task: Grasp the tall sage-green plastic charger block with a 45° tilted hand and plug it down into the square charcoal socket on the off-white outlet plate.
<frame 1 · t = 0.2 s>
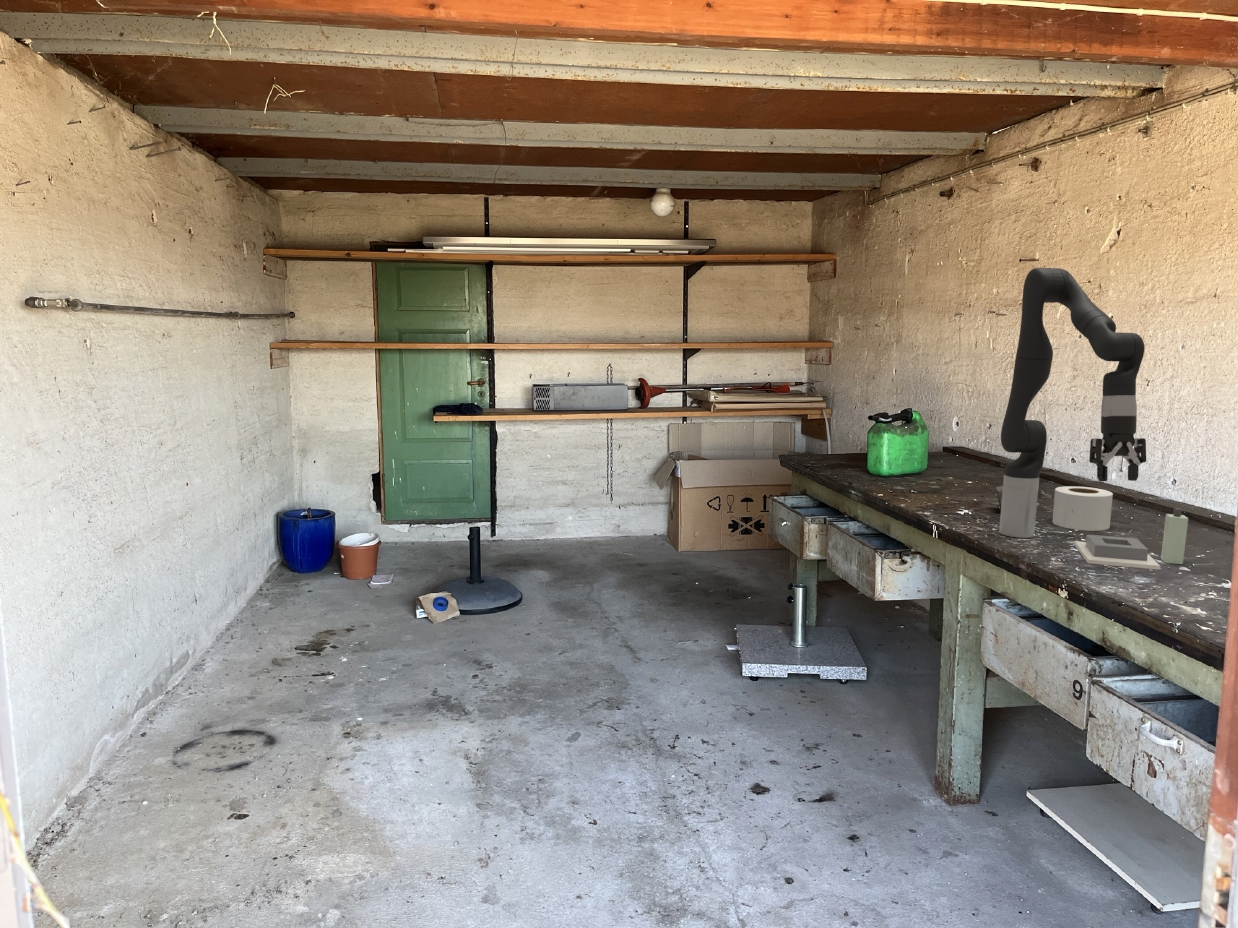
hand: (1117, 480, 211), 22 cm above the table, tool pointing down, fingers open, 8 cm apart
electrical switch: (1005, 512, 279), on the table
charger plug: (1171, 561, 222), on the table
outlet plate: (1114, 556, 226), on the table
roll of tape: (1080, 525, 262), on the table
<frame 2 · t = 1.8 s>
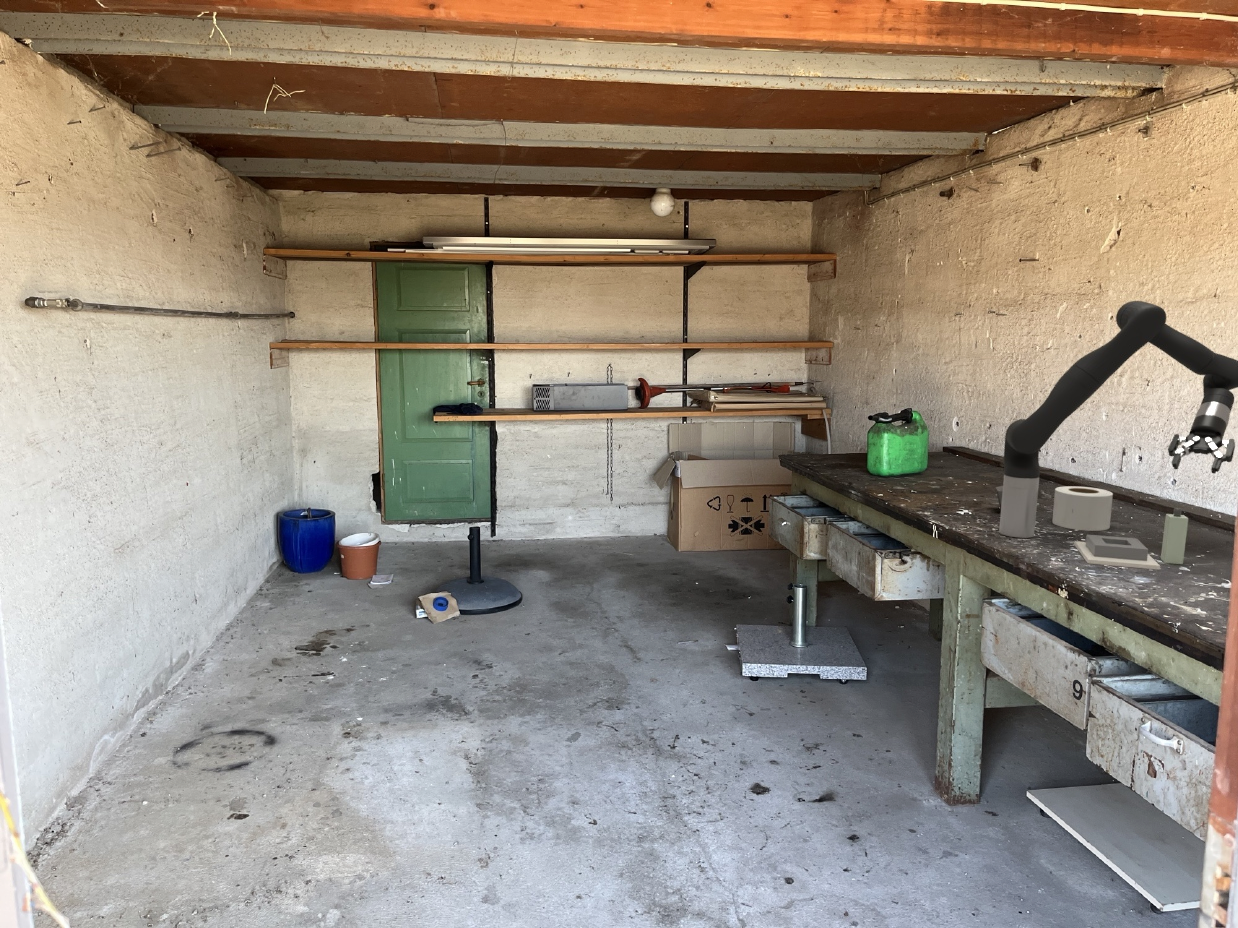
hand: (1194, 469, 226), 23 cm above the table, tool tilted 45°, fingers open, 8 cm apart
nothing on the table moved.
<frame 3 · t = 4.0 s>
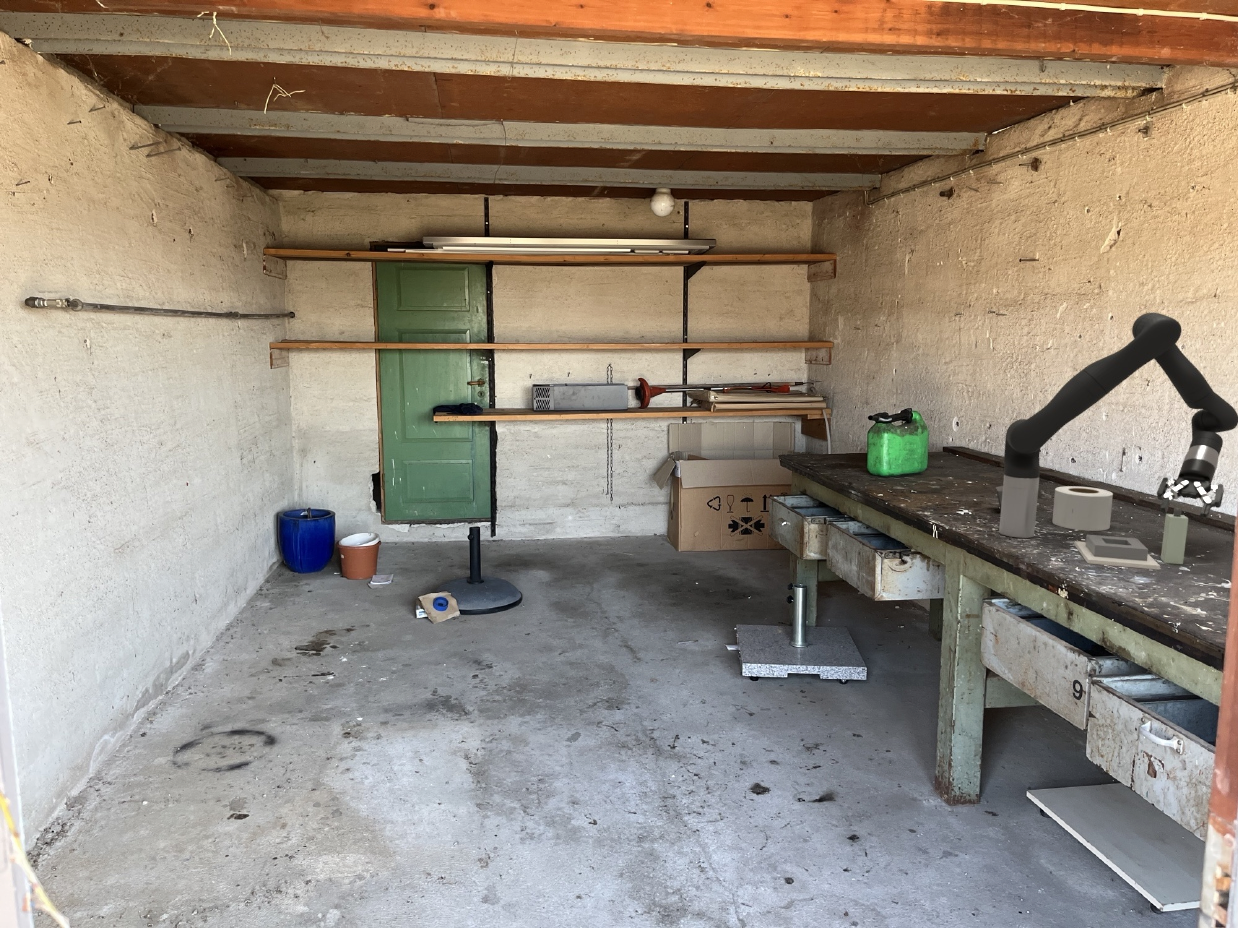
hand: (1182, 514, 224), 12 cm above the table, tool tilted 45°, fingers open, 8 cm apart
nothing on the table moved.
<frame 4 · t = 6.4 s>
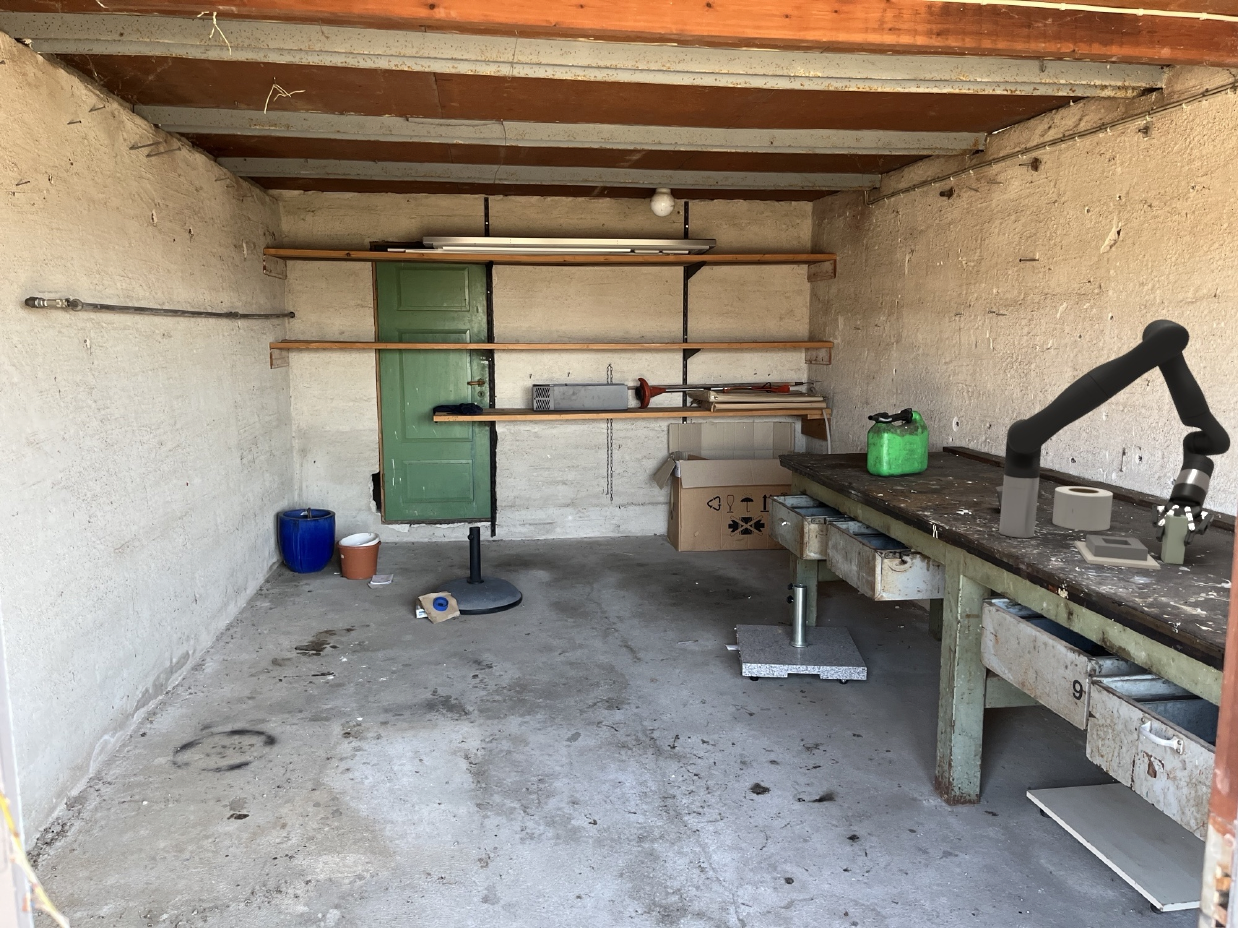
hand: (1172, 542, 220), 5 cm above the table, tool tilted 45°, fingers closed on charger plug, 5 cm apart
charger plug: (1171, 561, 222), on the table, touching gripper
everything else where it was.
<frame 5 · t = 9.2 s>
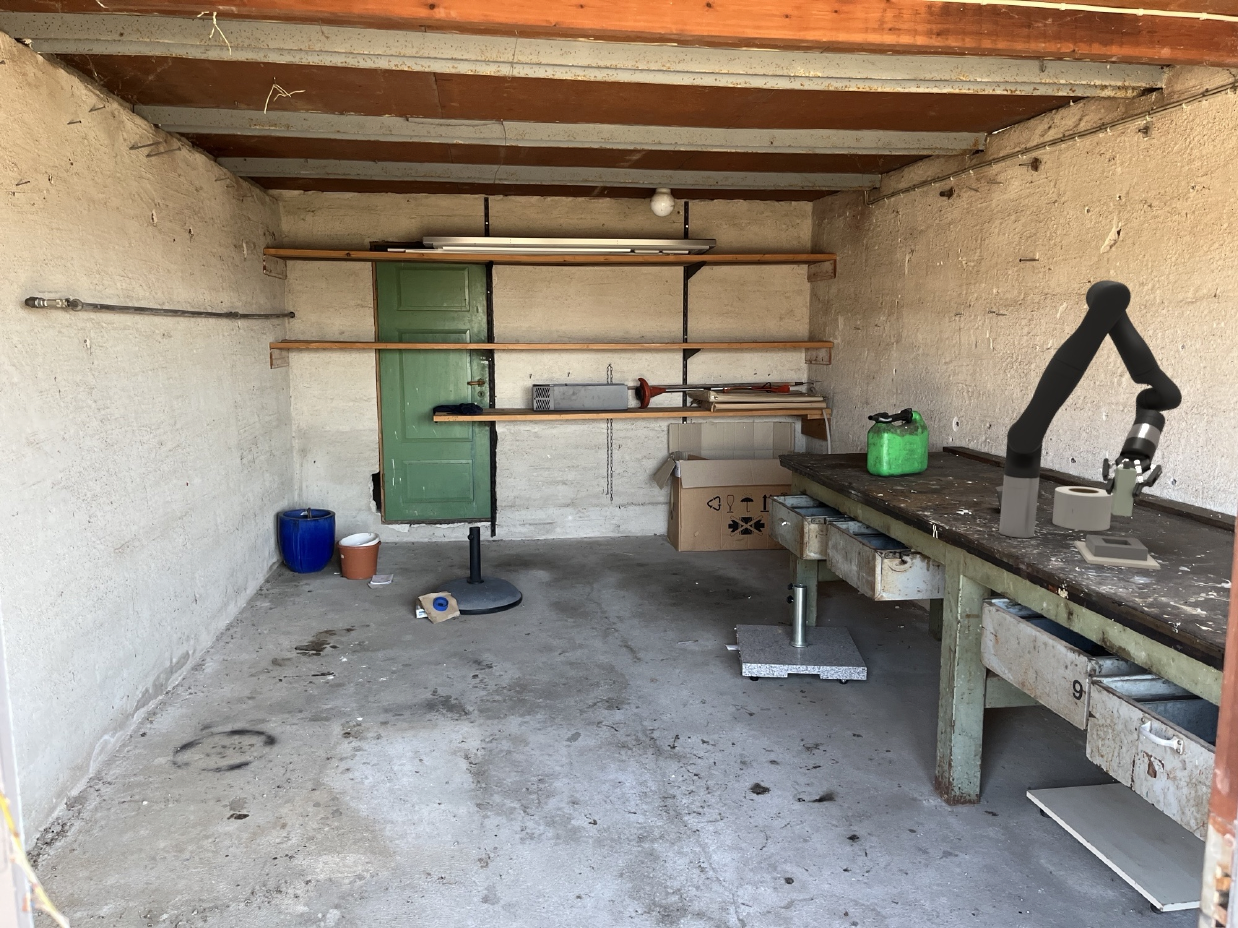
hand: (1121, 494, 222), 17 cm above the table, tool tilted 45°, fingers closed on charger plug, 5 cm apart
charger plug: (1120, 514, 224), point 11 cm above the table, touching gripper
everything else where it was.
when the fingers open (8 cm above the table, at t = 12.0 s): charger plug drops 1 cm, resting on outlet plate.
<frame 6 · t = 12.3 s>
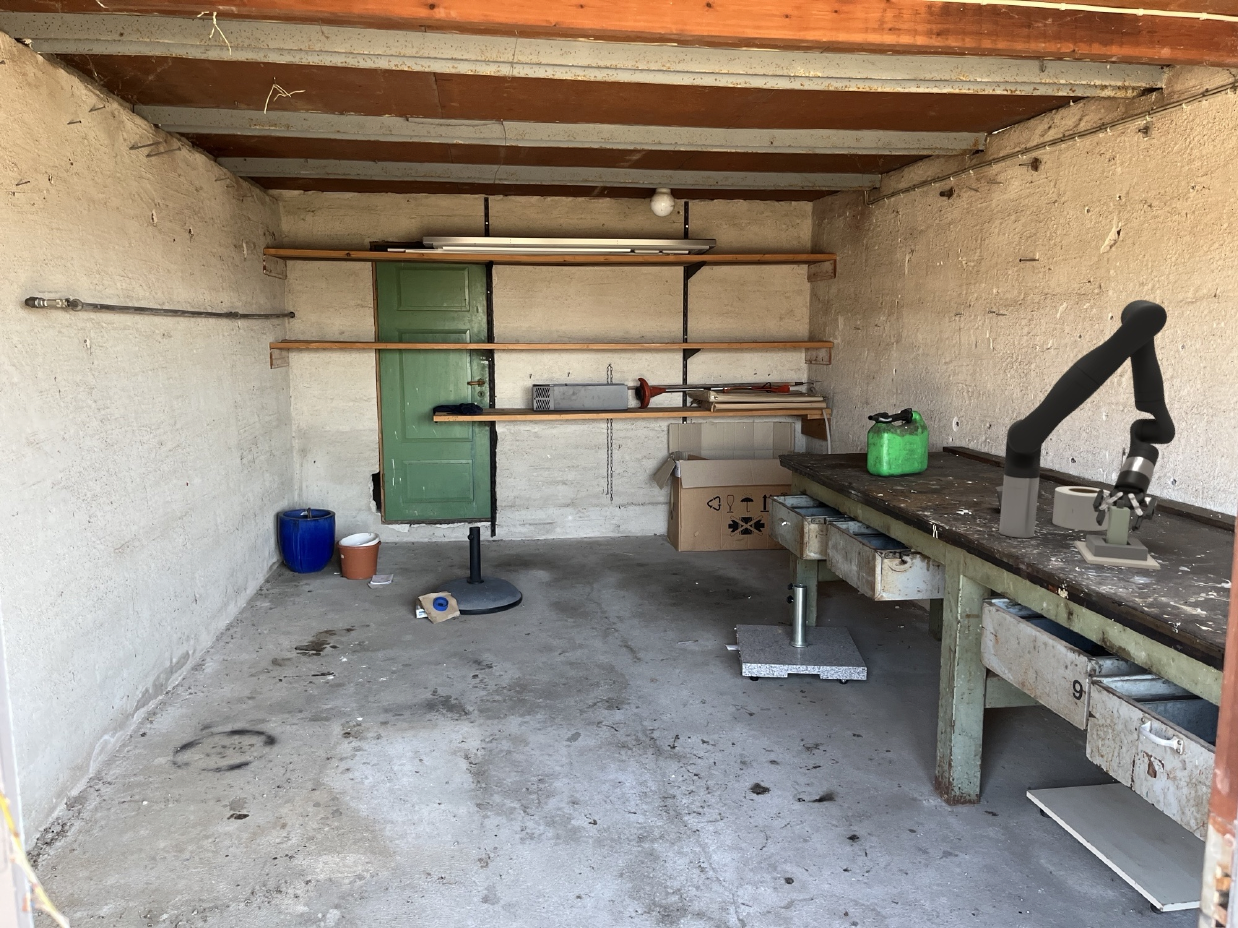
hand: (1116, 526, 224), 8 cm above the table, tool tilted 45°, fingers open, 7 cm apart
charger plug: (1115, 552, 226), point 1 cm above the table, touching outlet plate
everything else where it was.
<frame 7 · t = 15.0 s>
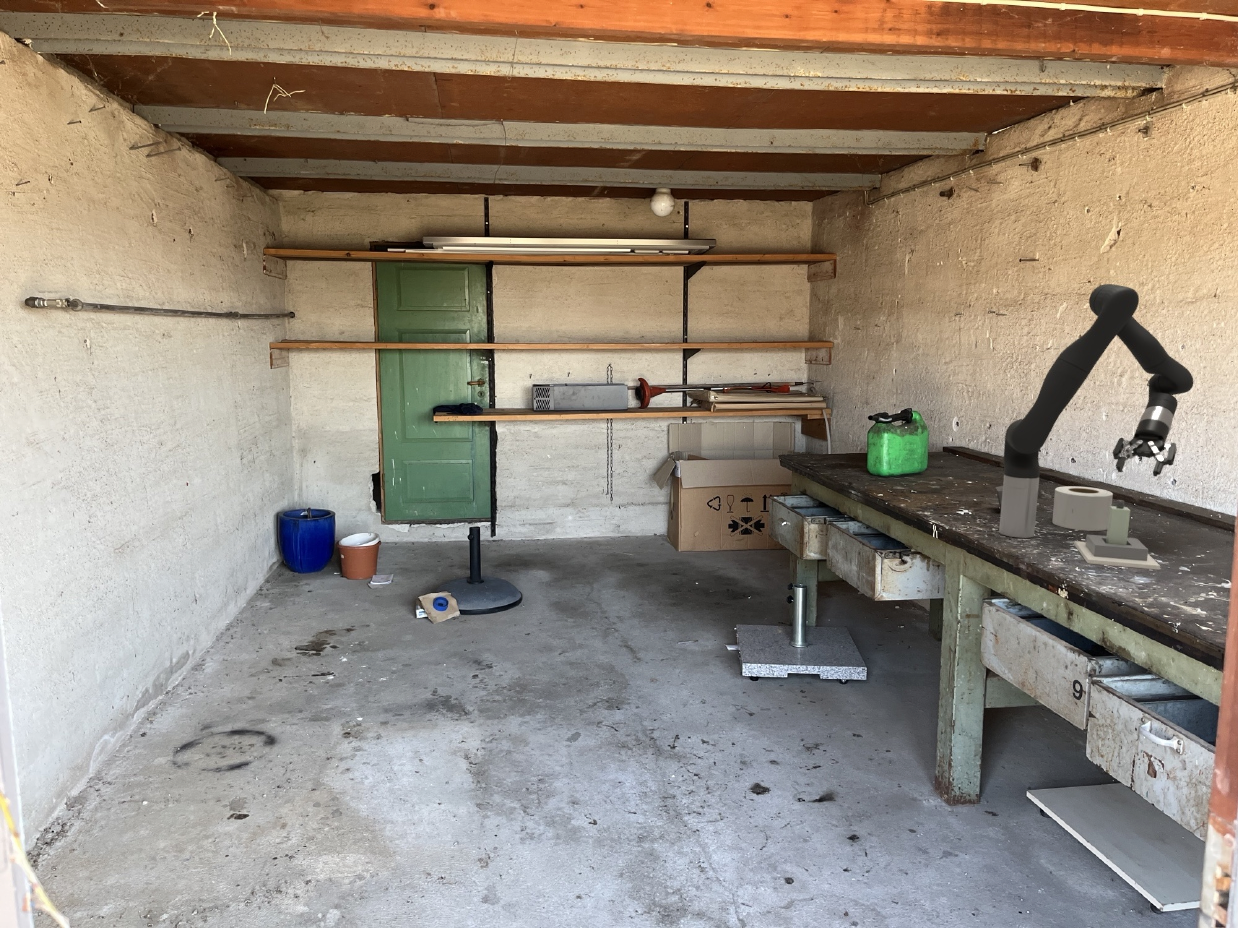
hand: (1136, 472, 231), 21 cm above the table, tool tilted 45°, fingers open, 8 cm apart
nothing on the table moved.
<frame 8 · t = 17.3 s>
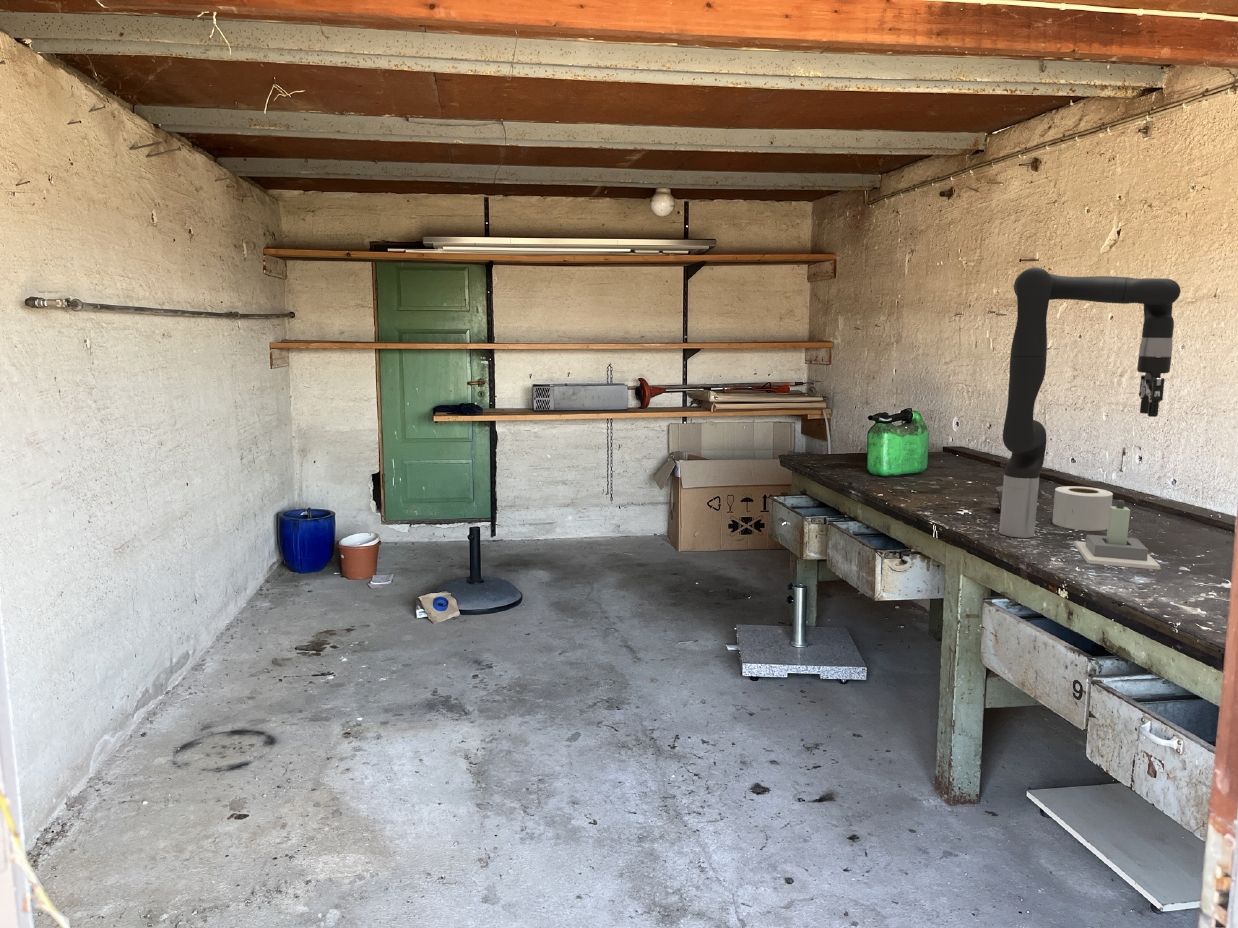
hand: (1148, 415, 234), 36 cm above the table, tool pointing down, fingers open, 8 cm apart
nothing on the table moved.
at the end: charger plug 0.1 cm off-centre on the outlet plate, point 1.0 cm above the outlet plate's base; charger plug tilted 0°; the gripper is holding nothing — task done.
